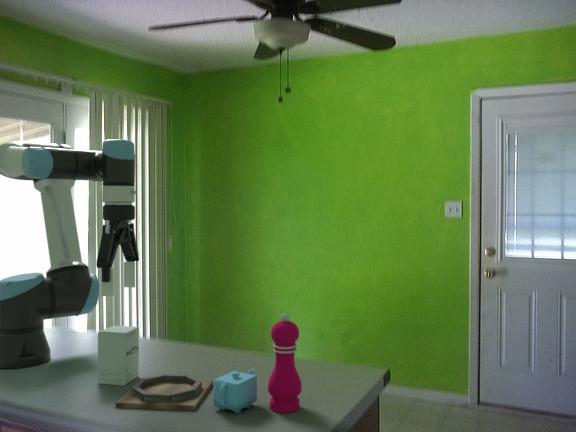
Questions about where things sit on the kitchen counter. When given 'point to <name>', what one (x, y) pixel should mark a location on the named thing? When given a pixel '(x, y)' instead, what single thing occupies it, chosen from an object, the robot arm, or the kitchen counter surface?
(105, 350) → the supplement box
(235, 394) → the teapot
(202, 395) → the collar plate
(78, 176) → the robot arm
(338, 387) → the kitchen counter surface
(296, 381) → the pepper mill
